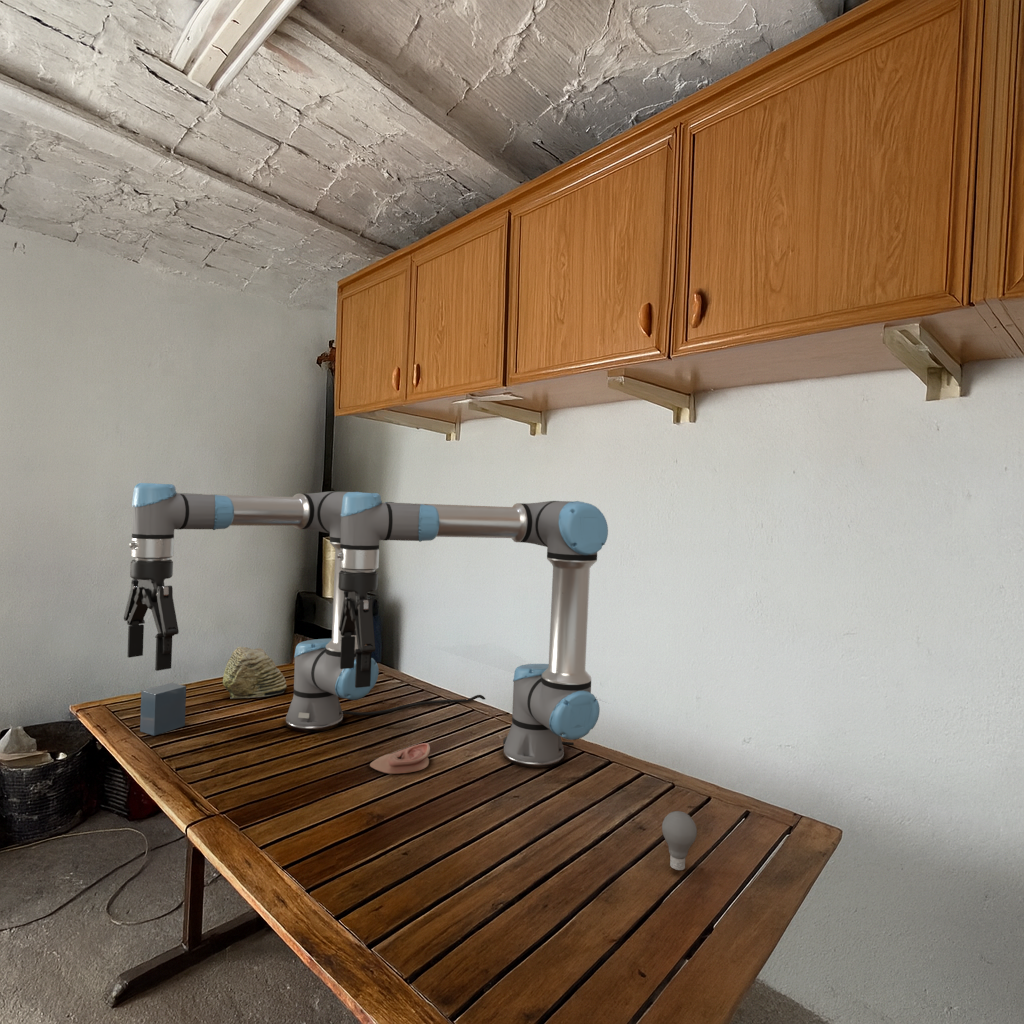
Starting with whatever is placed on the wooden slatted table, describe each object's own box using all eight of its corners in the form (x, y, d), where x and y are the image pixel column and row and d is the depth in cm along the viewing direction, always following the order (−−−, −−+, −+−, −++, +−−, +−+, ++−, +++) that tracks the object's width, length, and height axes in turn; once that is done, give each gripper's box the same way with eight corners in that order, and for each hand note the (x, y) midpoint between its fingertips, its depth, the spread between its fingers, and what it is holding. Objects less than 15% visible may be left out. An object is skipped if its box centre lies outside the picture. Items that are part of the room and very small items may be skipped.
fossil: (218, 695, 195) (220, 647, 195) (278, 685, 208) (279, 640, 207) (228, 703, 189) (230, 653, 188) (289, 692, 201) (290, 645, 201)
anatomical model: (364, 753, 147) (384, 735, 158) (364, 770, 147) (383, 751, 158) (419, 760, 144) (435, 742, 155) (418, 778, 144) (434, 758, 156)
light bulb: (655, 859, 115) (658, 804, 115) (687, 858, 116) (690, 804, 116) (666, 878, 109) (669, 821, 109) (700, 878, 110) (702, 821, 110)
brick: (170, 721, 173) (172, 682, 172) (185, 725, 170) (186, 686, 170) (139, 731, 165) (141, 690, 165) (154, 736, 162) (155, 694, 162)
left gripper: (108, 554, 134) (105, 654, 134) (159, 565, 118) (155, 678, 119) (146, 552, 140) (143, 648, 140) (199, 563, 124) (196, 671, 124)
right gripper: (327, 563, 135) (323, 662, 135) (353, 578, 112) (349, 697, 113) (362, 563, 138) (358, 660, 138) (395, 578, 116) (390, 693, 116)
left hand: (148, 662), depth 129 cm, fingers open, 13 cm apart
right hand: (354, 677), depth 125 cm, fingers open, 13 cm apart
